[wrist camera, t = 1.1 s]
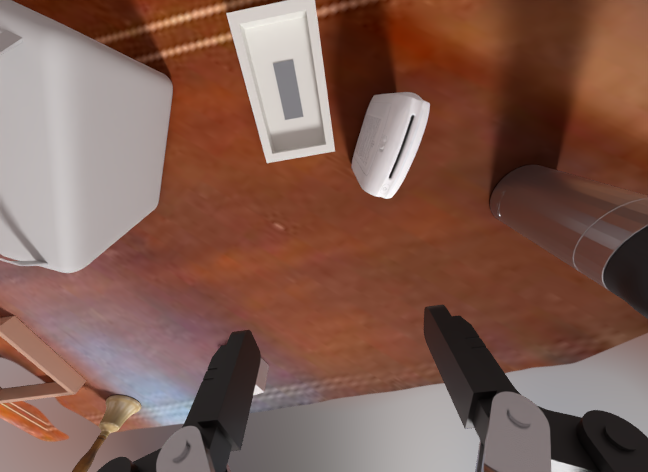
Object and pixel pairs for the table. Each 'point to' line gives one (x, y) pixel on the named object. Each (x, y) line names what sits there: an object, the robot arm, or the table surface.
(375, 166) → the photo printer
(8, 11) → the radio
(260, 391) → the light grey cube
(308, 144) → the dock
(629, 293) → the robot arm
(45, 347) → the brown square frame
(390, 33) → the table surface
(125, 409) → the hand bell
